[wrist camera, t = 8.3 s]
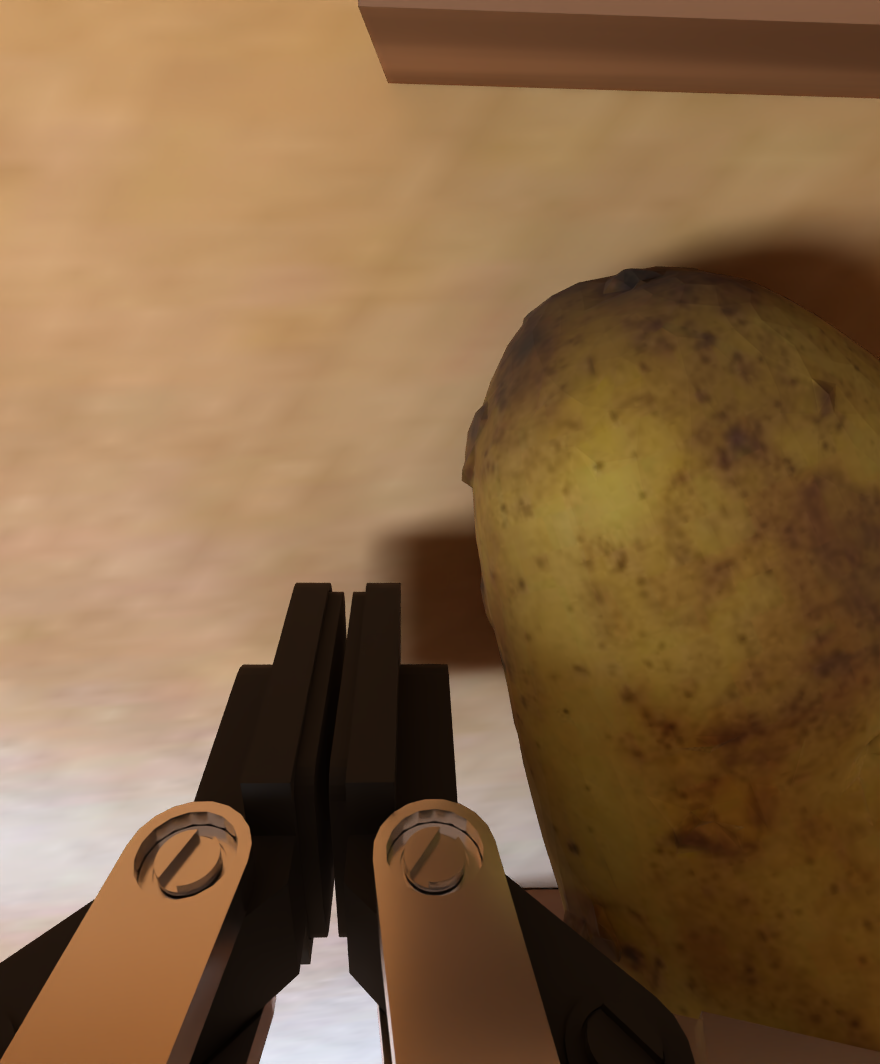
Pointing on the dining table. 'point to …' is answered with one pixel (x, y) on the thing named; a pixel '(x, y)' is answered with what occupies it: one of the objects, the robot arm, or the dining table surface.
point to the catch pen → (632, 55)
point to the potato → (696, 635)
